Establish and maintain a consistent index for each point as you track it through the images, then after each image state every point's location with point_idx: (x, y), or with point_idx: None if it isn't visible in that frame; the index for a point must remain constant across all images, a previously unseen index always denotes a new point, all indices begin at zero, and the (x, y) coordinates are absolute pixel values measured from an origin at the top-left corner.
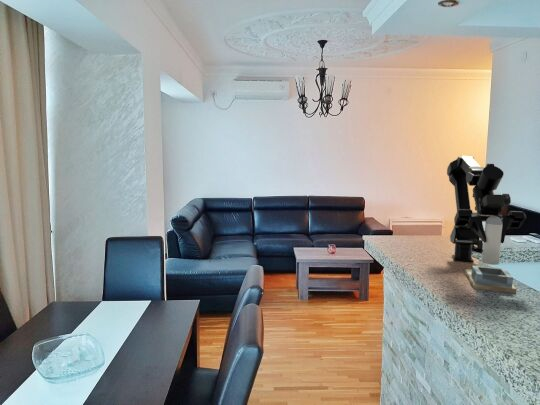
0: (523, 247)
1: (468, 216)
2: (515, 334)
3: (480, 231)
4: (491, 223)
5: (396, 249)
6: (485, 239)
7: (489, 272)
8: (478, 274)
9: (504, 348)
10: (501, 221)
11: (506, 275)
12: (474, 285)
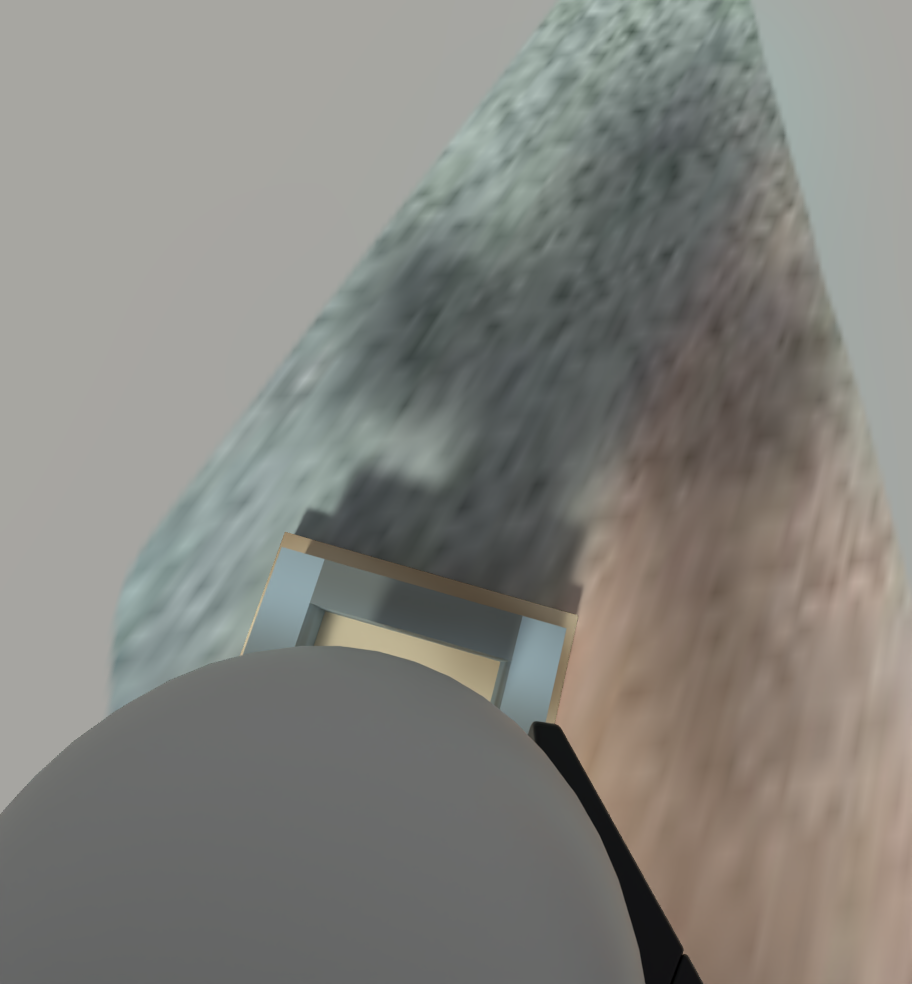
0: None
1: None
2: (622, 29)
3: (664, 935)
4: (525, 740)
5: None
6: (548, 737)
7: None
8: (556, 626)
9: None
10: (58, 759)
11: (306, 604)
12: (569, 615)
